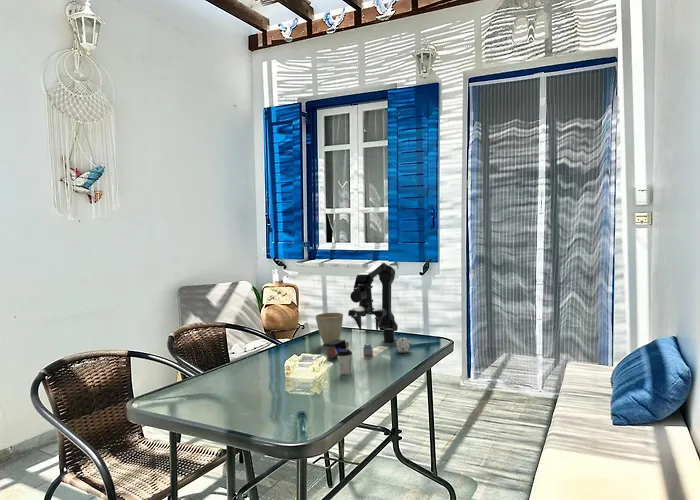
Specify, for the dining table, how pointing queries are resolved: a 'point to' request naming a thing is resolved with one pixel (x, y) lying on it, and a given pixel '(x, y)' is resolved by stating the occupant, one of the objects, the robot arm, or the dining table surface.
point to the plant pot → (329, 326)
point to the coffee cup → (344, 360)
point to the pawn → (367, 350)
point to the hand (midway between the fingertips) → (368, 329)
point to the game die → (403, 345)
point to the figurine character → (336, 347)
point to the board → (376, 351)
